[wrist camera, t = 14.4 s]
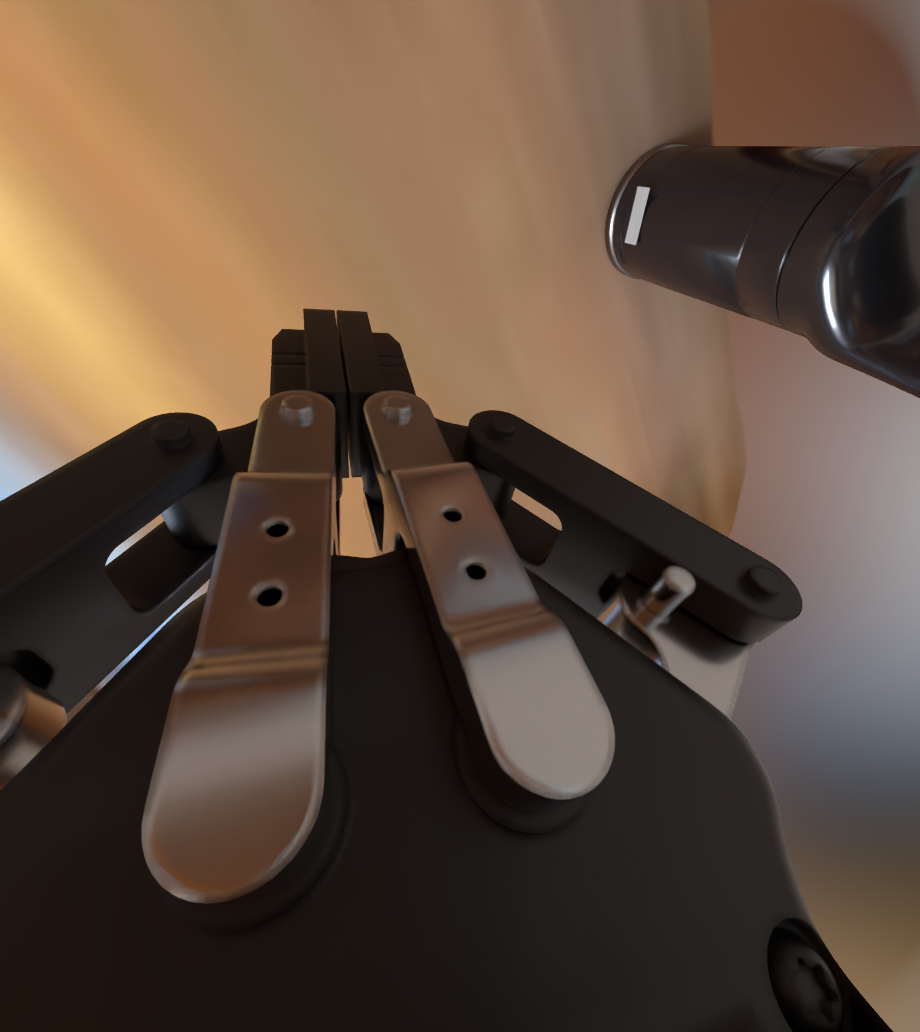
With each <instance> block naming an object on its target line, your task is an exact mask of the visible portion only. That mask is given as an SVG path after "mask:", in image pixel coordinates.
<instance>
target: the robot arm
mask: <svg viewBox="0 0 920 1032" xmlns="http://www.w3.org/2000/svg"><path fill="white" fill-rule="evenodd" d="M605 238H606V247H607V252H608V255H609V258H610V260H611V262H612V263H613V265H614V266H615V268H616V269H617V270H618V271H619V272H621V273H622V274H624V275H626V276H629V277H632V278H635V279H642V280H645V281H647V282H650V283H653V284H655V285H658V286H661V287H664V288H667V289H670V290H672V291H675V292H678V293H681V294H684V295H687V296H690V297H692V298H695V299H698V300H701V301H704V302H707V303H710V304H713V305H715V306H718V307H721V308H724V309H727V310H730V311H733V312H736V313H739V314H741V315H744V316H747V317H750V318H753V319H756V320H759V321H762V322H765V323H768V324H770V325H773V326H776V327H779V328H782V329H785V330H788V331H791V332H793V333H796V334H798V335H801V336H804V337H806V338H807V339H808V340H809V341H810V342H811V344H812V345H813V346H814V347H815V348H816V349H817V350H818V351H820V352H821V353H822V354H824V355H825V356H827V357H829V358H831V359H833V360H835V361H837V362H840V363H842V364H844V365H847V366H849V367H851V368H854V369H856V370H858V371H861V372H863V373H865V374H867V375H870V376H872V377H874V378H876V379H879V380H881V381H884V382H886V383H888V384H890V385H892V386H894V387H897V388H899V389H901V390H903V391H905V392H907V393H910V394H912V395H914V396H916V397H918V398H920V146H897V147H893V146H839V147H785V146H782V147H781V146H777V147H776V146H764V147H762V146H759V147H758V146H752V147H751V146H687V145H682V144H667V145H662V146H659V147H656V148H654V149H652V150H650V151H649V152H647V153H646V154H644V155H643V156H642V157H640V158H639V159H638V160H637V161H636V162H635V163H634V164H633V165H632V166H631V168H630V169H629V170H628V171H627V173H626V174H625V176H624V177H623V179H622V180H621V182H620V184H619V186H618V187H617V189H616V192H615V194H614V196H613V199H612V201H611V204H610V207H609V211H608V215H607V221H606V230H605ZM303 311H304V330H294V329H282V330H281V331H280V332H279V333H278V334H277V335H276V336H275V337H274V338H273V339H272V359H271V363H272V365H271V384H270V397H269V398H268V399H266V400H265V401H264V402H263V404H262V405H261V408H260V412H259V417H258V419H256V420H255V421H253V422H251V423H248V424H246V425H243V426H239V427H235V428H231V429H226V430H222V431H217V428H216V426H215V425H214V424H213V423H212V422H211V421H210V420H209V419H207V418H205V417H203V416H200V415H196V414H192V413H167V414H161V415H157V416H154V417H151V418H148V419H146V420H144V421H142V422H140V423H138V424H136V425H135V426H133V427H131V428H129V429H128V430H126V431H124V432H122V433H120V434H119V435H117V436H115V437H113V438H112V439H110V440H108V441H106V442H105V443H103V444H101V445H99V446H97V447H96V448H94V449H92V450H90V451H89V452H87V453H85V454H83V455H82V456H80V457H78V458H76V459H74V460H73V461H71V462H69V463H67V464H66V465H64V466H62V467H60V468H59V469H57V470H55V471H53V472H51V473H50V474H48V475H46V476H44V477H43V478H41V479H39V480H37V481H36V482H34V483H32V484H30V485H28V486H27V487H25V488H23V489H21V490H20V491H18V492H16V493H14V494H12V495H11V496H9V497H7V498H5V499H4V500H2V501H0V1032H893V1031H892V1030H891V1029H890V1028H889V1027H888V1025H887V1024H886V1023H885V1022H884V1021H883V1020H882V1018H880V1016H879V1015H878V1014H877V1013H876V1011H875V1010H874V1009H873V1008H872V1007H871V1006H870V1004H869V1003H868V1002H867V1001H866V1000H865V999H864V997H863V996H862V995H861V994H860V993H859V991H858V990H857V989H856V988H855V987H854V985H853V984H852V983H851V981H850V980H849V979H848V978H847V976H846V975H845V974H844V972H843V971H842V969H841V968H840V967H839V965H838V964H837V962H836V961H835V960H834V958H833V957H832V955H831V954H830V952H829V951H828V949H827V947H826V946H825V944H824V942H823V941H822V939H821V937H820V935H819V934H818V932H817V930H816V928H815V926H814V924H813V922H812V920H811V917H810V915H809V912H808V909H807V907H806V904H805V902H804V899H803V897H802V894H801V891H800V889H799V886H798V883H797V880H796V877H795V873H794V870H793V867H792V864H791V861H790V857H789V853H788V849H787V846H786V842H785V838H784V832H783V827H782V822H781V817H780V812H779V807H778V803H777V798H776V795H775V792H774V789H773V786H772V783H771V781H770V779H769V776H768V774H767V772H766V770H765V767H764V765H763V764H762V762H761V760H760V759H759V757H758V755H757V753H756V751H755V750H754V749H753V747H752V746H751V744H750V743H749V742H748V740H747V739H746V738H745V736H744V735H743V734H742V733H741V731H740V730H739V729H738V728H737V727H736V725H734V723H733V722H732V721H731V717H732V714H733V710H734V707H735V703H736V699H737V696H738V692H739V689H740V686H741V682H742V679H743V675H744V671H745V668H746V664H747V661H748V657H749V654H750V650H751V648H752V647H753V646H754V645H756V644H757V643H759V642H760V641H762V640H763V639H765V638H766V637H768V636H769V635H771V634H772V633H774V632H775V631H777V630H778V629H780V628H781V627H783V626H784V625H786V624H787V623H789V622H790V621H792V620H793V619H795V618H796V617H797V616H799V614H800V612H801V611H802V599H801V596H800V593H799V591H798V589H797V588H796V586H795V584H794V583H793V582H792V581H791V579H790V578H789V577H788V576H787V575H786V574H785V573H784V572H783V571H782V570H781V569H779V568H778V567H777V566H775V565H774V564H773V563H771V562H769V561H768V560H766V559H764V558H762V557H761V556H759V555H757V554H755V553H754V552H752V551H750V550H749V549H747V548H745V547H743V546H742V545H740V544H738V543H736V542H735V541H733V540H731V539H730V538H728V537H726V536H724V535H723V534H721V533H719V532H717V531H716V530H714V529H712V528H710V527H709V526H707V525H705V524H703V523H702V522H700V521H698V520H696V519H695V518H693V517H691V516H689V515H688V514H686V513H684V512H682V511H681V510H679V509H677V508H675V507H674V506H672V505H670V504H669V503H667V502H665V501H663V500H662V499H660V498H658V497H656V496H655V495H653V494H651V493H649V492H648V491H646V490H644V489H642V488H641V487H639V486H637V485H635V484H634V483H632V482H630V481H628V480H627V479H625V478H623V477H621V476H620V475H618V474H616V473H615V472H613V471H611V470H609V469H608V468H606V467H604V466H602V465H601V464H599V463H597V462H595V461H594V460H592V459H590V458H588V457H587V456H585V455H583V454H581V453H580V452H578V451H576V450H574V449H573V448H571V447H569V446H567V445H566V444H564V443H562V442H560V441H559V440H557V439H555V438H554V437H552V436H550V435H548V434H547V433H545V432H543V431H541V430H540V429H538V428H536V427H534V426H533V425H531V424H529V423H527V422H526V421H524V420H522V419H520V418H519V417H517V416H515V415H512V414H510V413H507V412H503V411H495V410H489V411H483V412H480V413H477V414H475V415H474V416H473V417H472V418H471V419H470V422H469V426H468V427H467V426H462V425H457V424H452V423H448V422H444V421H441V420H439V419H436V418H434V416H433V414H432V412H431V409H430V407H429V406H428V404H427V403H426V402H425V401H424V400H422V399H421V398H419V397H418V396H416V394H415V390H414V387H413V384H412V381H411V378H410V374H409V371H408V368H407V365H406V362H405V359H404V355H403V352H402V349H401V346H400V344H399V343H398V342H397V341H396V340H395V339H394V338H393V337H392V336H391V335H390V334H389V333H372V331H371V327H370V323H369V319H368V315H367V312H360V311H341V310H337V325H336V318H335V311H334V310H321V309H303ZM348 452H349V460H350V467H351V475H352V477H362V480H363V503H364V507H365V511H366V515H367V519H368V523H369V527H370V531H371V535H372V539H373V543H374V547H375V550H376V554H377V556H376V557H372V558H360V557H351V556H342V555H340V497H341V495H342V478H349V464H348ZM515 488H517V489H518V490H520V491H522V492H523V493H525V494H526V495H528V496H529V497H531V498H533V499H534V500H536V501H537V502H539V503H540V504H542V505H544V506H545V507H547V508H548V509H550V510H551V511H553V512H554V513H555V514H556V515H557V516H558V517H559V519H560V521H561V524H562V531H560V530H558V529H556V528H554V527H553V526H551V525H550V524H548V523H547V522H545V521H544V520H542V519H540V518H539V517H537V516H536V515H534V514H533V513H531V512H530V511H528V510H527V509H525V508H523V507H522V506H520V505H519V504H517V503H516V502H514V501H513V500H511V498H512V496H513V493H514V490H515ZM160 514H161V515H162V517H163V519H164V522H162V523H161V524H160V525H158V526H157V527H156V528H155V529H153V530H152V531H151V532H149V533H148V534H147V535H145V536H144V537H143V538H142V539H140V540H139V541H138V542H136V543H135V544H134V545H132V546H131V547H130V548H128V549H127V550H126V551H125V552H123V553H122V554H121V555H119V556H118V557H117V558H115V559H114V560H113V561H112V562H110V563H109V564H108V565H106V566H105V564H106V561H107V559H108V557H109V555H110V554H111V553H112V551H113V550H114V549H115V548H116V547H117V546H118V545H120V544H121V543H122V542H124V541H125V540H126V539H128V538H129V537H130V536H132V535H133V534H134V533H136V532H137V531H138V530H140V529H141V528H142V527H144V526H145V525H146V524H148V523H149V522H150V521H152V520H153V519H154V518H156V517H157V516H158V515H160ZM209 579H210V581H209V586H208V590H207V592H206V593H205V594H203V595H201V596H200V597H198V598H197V599H195V600H194V601H192V602H191V603H189V604H188V605H187V606H186V607H184V608H183V609H182V610H181V611H180V612H178V613H177V614H176V615H175V616H174V617H173V618H172V619H171V620H169V621H168V622H167V623H166V624H165V625H164V626H163V627H162V628H161V629H160V630H159V631H158V632H157V633H156V634H155V636H154V637H153V638H152V639H151V640H150V641H149V642H148V643H147V644H146V645H145V646H144V647H143V648H142V649H141V650H140V651H139V652H138V653H137V654H136V655H135V656H134V657H133V658H132V659H131V660H130V661H129V662H128V663H127V664H126V665H125V666H124V667H123V668H122V669H121V670H120V671H119V672H118V673H117V674H116V675H115V676H114V677H113V678H112V679H111V680H110V681H109V682H108V683H107V684H106V685H105V686H104V687H103V688H102V689H101V690H100V691H99V692H98V693H97V694H96V695H95V696H94V697H93V698H92V699H91V700H90V701H89V702H88V703H87V704H86V705H85V706H84V707H83V708H82V709H81V710H80V711H79V712H78V713H77V714H76V715H75V716H74V717H73V718H72V719H71V720H70V721H69V722H68V723H67V716H66V714H67V713H68V712H69V711H70V710H71V709H72V708H73V707H74V706H75V705H76V704H78V703H79V702H80V701H81V700H82V699H83V698H84V697H85V696H86V695H87V694H88V693H89V692H90V691H91V690H92V689H93V688H95V687H96V686H97V685H98V684H99V683H100V682H101V681H102V680H103V679H104V678H105V677H106V676H107V675H108V674H109V673H110V672H111V671H112V670H114V669H115V668H116V667H117V666H118V665H119V664H120V663H121V662H122V661H123V660H124V659H125V658H126V657H127V656H128V655H129V654H130V653H132V652H133V651H134V650H135V649H136V648H137V647H138V646H139V645H140V644H141V643H142V642H143V641H144V640H145V639H146V638H147V637H148V636H149V635H151V634H152V633H153V632H154V631H155V630H156V629H157V628H158V627H159V626H160V625H161V624H162V623H163V622H164V621H165V620H166V619H167V618H169V617H170V616H171V615H172V614H173V613H174V612H175V611H176V610H177V609H178V608H179V607H180V606H181V605H182V604H183V603H184V602H185V601H186V600H188V599H189V598H190V597H191V596H192V595H193V594H194V593H195V592H196V591H197V590H198V589H199V588H200V587H201V586H202V585H203V584H204V583H206V582H207V581H208V580H209Z"/></svg>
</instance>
